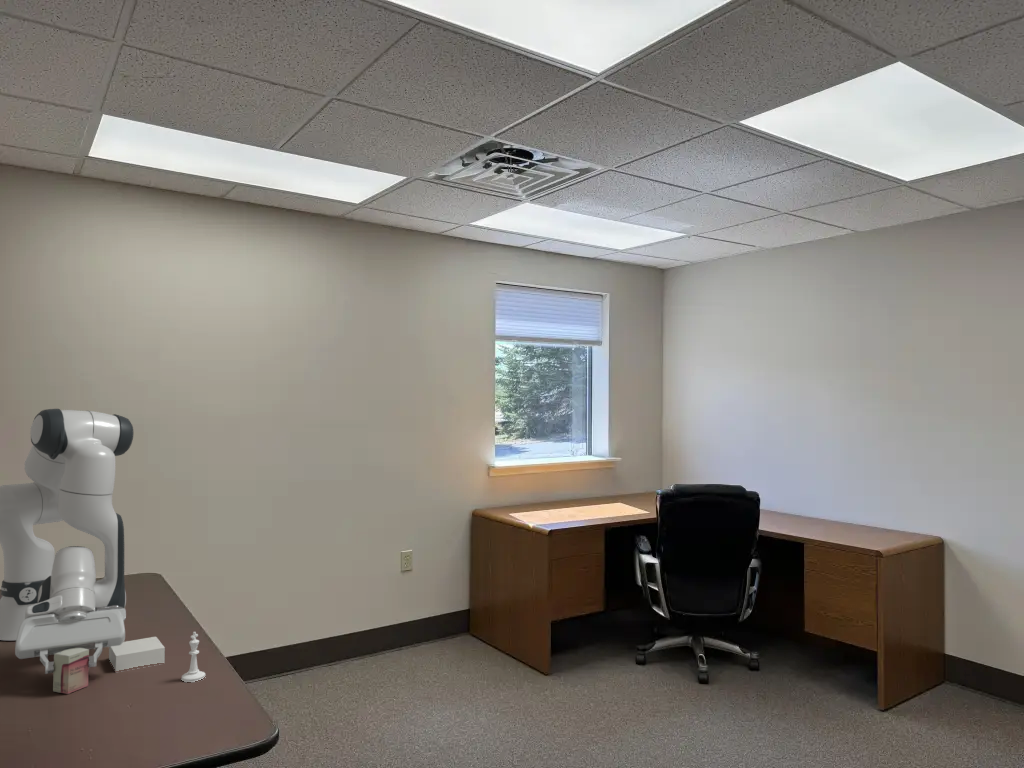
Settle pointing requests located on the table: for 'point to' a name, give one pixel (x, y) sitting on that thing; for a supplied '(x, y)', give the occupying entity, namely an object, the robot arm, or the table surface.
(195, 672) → the chess piece
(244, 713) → the table surface
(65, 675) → the small box
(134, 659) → the off-white block
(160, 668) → the table surface
